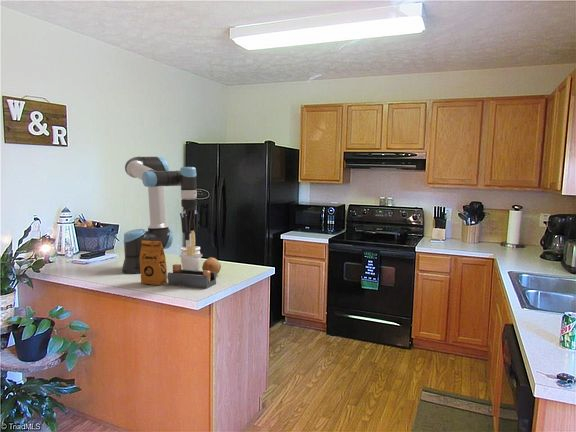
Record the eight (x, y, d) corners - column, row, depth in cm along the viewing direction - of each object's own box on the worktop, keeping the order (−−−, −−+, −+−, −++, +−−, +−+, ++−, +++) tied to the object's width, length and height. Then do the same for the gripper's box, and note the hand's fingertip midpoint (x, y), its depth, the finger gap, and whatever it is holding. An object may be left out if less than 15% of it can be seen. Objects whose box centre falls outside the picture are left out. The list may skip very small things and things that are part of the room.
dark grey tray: (168, 284, 212) (167, 266, 211) (178, 280, 221) (177, 262, 220) (206, 288, 205) (206, 269, 204) (216, 283, 213) (215, 265, 212)
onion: (222, 277, 226) (221, 258, 225) (203, 278, 223) (202, 260, 222) (220, 273, 235) (219, 255, 234) (201, 274, 233) (201, 256, 232)
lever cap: (179, 257, 211) (178, 230, 209) (185, 255, 216) (184, 229, 214) (197, 258, 208) (196, 231, 206) (202, 256, 212) (201, 230, 211)
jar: (204, 273, 236) (204, 246, 234) (194, 277, 226) (193, 249, 224) (188, 271, 239) (187, 245, 237) (177, 276, 229) (176, 248, 228)
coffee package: (159, 287, 209) (157, 242, 206) (137, 285, 212) (135, 241, 210) (170, 281, 218) (168, 239, 216) (149, 280, 222) (147, 238, 219)
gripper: (186, 200, 199) (188, 249, 202) (204, 197, 214) (205, 243, 217) (173, 199, 202) (174, 248, 205) (191, 197, 217) (192, 242, 220)
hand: (190, 245), depth 211 cm, fingers closed on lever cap, 3 cm apart
